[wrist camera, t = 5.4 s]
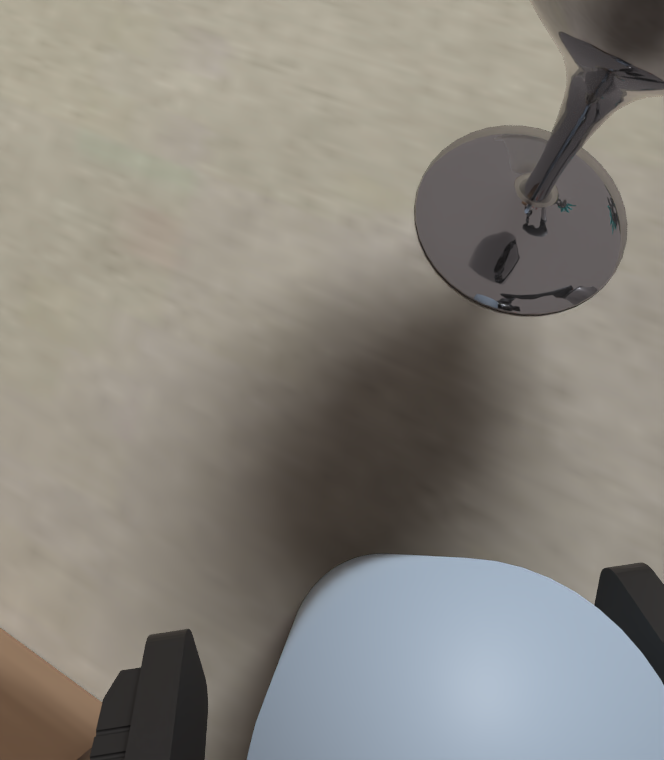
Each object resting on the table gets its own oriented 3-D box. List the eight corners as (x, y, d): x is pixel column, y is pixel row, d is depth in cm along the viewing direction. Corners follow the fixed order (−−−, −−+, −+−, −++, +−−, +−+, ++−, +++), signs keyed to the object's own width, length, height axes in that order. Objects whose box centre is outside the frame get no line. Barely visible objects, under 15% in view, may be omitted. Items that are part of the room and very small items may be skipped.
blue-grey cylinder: (352, 517, 17) (392, 478, 8) (512, 619, 17) (775, 716, 7) (251, 686, 16) (147, 888, 6) (419, 804, 15) (582, 1226, 6)
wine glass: (596, 367, 19) (1525, -249, 4) (363, 266, 19) (485, -539, 5) (668, 168, 21) (1469, -710, 6) (455, 84, 22) (730, -866, 7)
